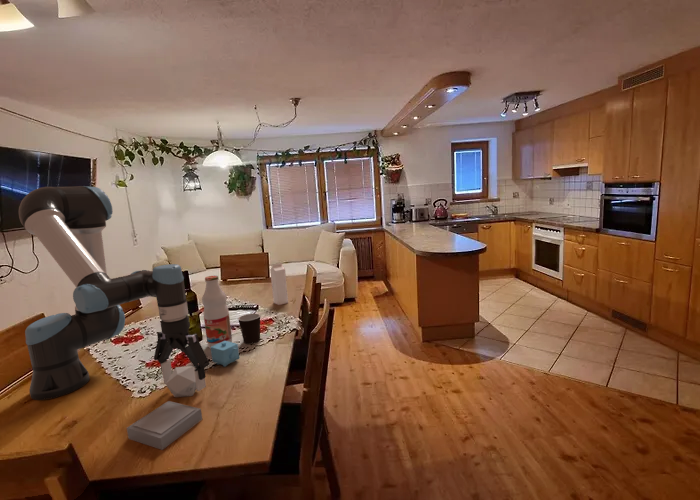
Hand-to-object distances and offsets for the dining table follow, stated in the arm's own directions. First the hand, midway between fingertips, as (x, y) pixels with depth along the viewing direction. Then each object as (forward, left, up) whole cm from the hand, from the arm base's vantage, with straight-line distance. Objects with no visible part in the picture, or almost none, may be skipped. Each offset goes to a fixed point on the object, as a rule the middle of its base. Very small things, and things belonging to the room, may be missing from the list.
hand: (184, 385), depth 106 cm
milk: (-25, +86, -3) cm, 90 cm away
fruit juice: (-17, +32, -3) cm, 36 cm away
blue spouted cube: (-2, +20, -3) cm, 20 cm away
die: (0, 0, -3) cm, 3 cm away
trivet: (+9, -14, -3) cm, 17 cm away
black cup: (-7, +40, -3) cm, 41 cm away
